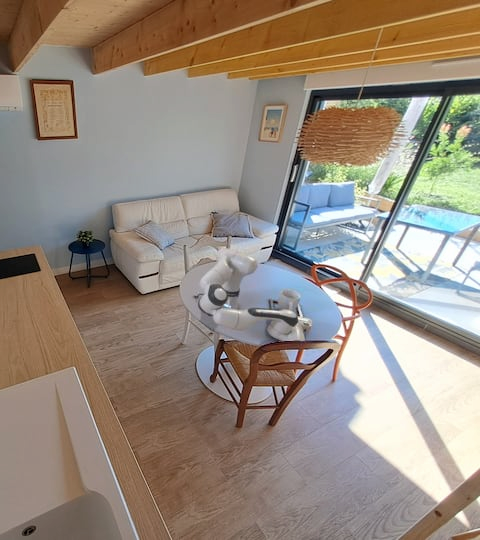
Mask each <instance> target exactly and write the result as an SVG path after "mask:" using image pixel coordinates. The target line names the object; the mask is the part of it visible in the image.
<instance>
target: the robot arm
mask: <svg viewBox="0 0 480 540" xmlns="http://www.w3.org/2000/svg"><path fill="white" fill-rule="evenodd" d="M215 260H216V264H215V265H214V266H213V267H211V269H209V270H208V271H207V272H206V273H205V274H204V275H203V276H202V277H201V279H200V280H199V283H198V284H199V287H200V290H201V291H203V293H199V294H198V295H194V298H199V299H198V302H197V306H198V307H197V308H198V309H199V310H200V312H202V313H203V314H206V315H207V316H209V317H212V320H213V322H214V323H215V324H216V325H218V326H220V327H223V328H225V329H230V330H234V331H246V330H248V329H250V327H252V326H253V325H254V324H256V323H258V322H259V321H262V320H271V322H270V324H269V325H268V326H267V327H266V331H267V334H268V335H269V337H270V338H271V339H273V340H275V341H276V342H281V341H301V342H302V341H305V342H306V338H305V335H309V334H310V333H311V330H312V327H313V320H312V319H311V318H309V317H305V316H303V317H300V316H299V315H297V313H296V312H295V311H292V310H289V309H279V308H278V309H277V308H274V309H271V308H267V307H266V308H264V307H250V308H246V309H238V308H239V306H238V304H239V303H238V302H239V301H238V300H239V299H238V298H239V296H240V292H241V284H242V281H243V280H244V278H245V277H246V276H249V275H252V274H254V273H255V272H256V271H257V269H258V261H257V259H255V258H254V257H252V256H250V255H248V254H245V253H243V252H240V251H237V250H234V249H231V248H228V247H221V248H220V249H218V250H217V252H216V254H215ZM199 296H201V297H199Z"/></svg>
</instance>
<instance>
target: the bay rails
mask: <svg viewBox="0 0 480 540" xmlns="http://www.w3.org/2000/svg"><path fill="white" fill-rule="evenodd" d="M278 300H279V299H272V298H270V299H269V306H270V309H275V305H274V303H275V304H278ZM296 310H297V313H298V316H300V317H304V315H303V312H302V308H301V305H300V303H298V305H297V307H296Z"/></svg>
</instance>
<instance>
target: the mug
mask: <svg viewBox="0 0 480 540" xmlns="http://www.w3.org/2000/svg"><path fill="white" fill-rule="evenodd" d="M301 296H302V295H301V294H300V293H299V292H298V291H296V290H293V289H282V290H281V291H280V294H279V297H278V299H277V300H278V303H277V306H278V309H289V310H292V311H293V312H295V310H297V305H298V304H300V300H301Z"/></svg>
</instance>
